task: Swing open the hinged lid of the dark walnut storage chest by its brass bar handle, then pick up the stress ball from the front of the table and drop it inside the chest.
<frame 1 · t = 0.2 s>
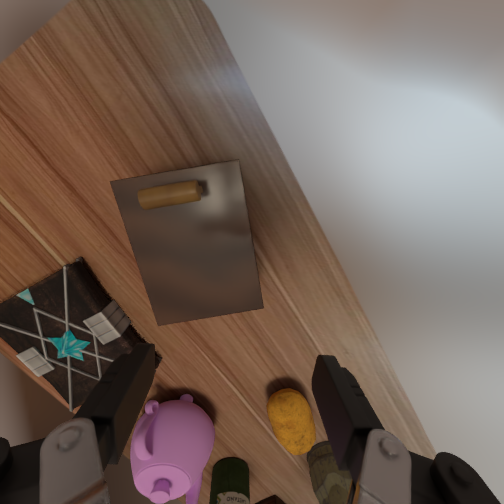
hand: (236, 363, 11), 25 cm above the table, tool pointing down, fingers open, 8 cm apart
lid: (191, 256, 24), point 12 cm above the table, hinge at 0.0°
teapot: (182, 417, 46), on the table
wine bottle: (230, 468, 51), on the table
tall handled vase: (325, 454, 51), on the table
book: (84, 331, 39), on the table
potato: (288, 401, 46), on the table
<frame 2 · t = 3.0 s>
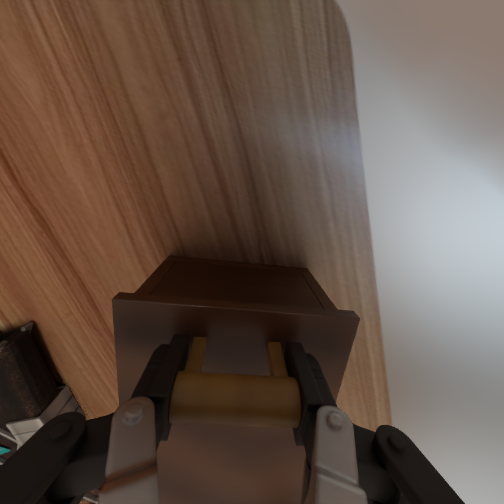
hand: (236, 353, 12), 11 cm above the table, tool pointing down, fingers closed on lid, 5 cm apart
lid: (225, 458, 13), point 12 cm above the table, hinge at 0.0°, touching gripper
chest: (232, 334, 24), on the table
book: (9, 414, 26), on the table
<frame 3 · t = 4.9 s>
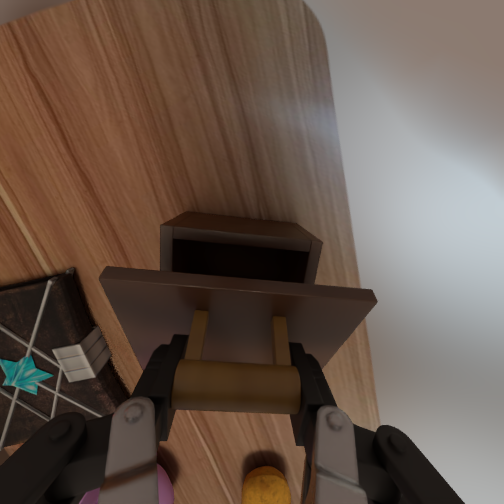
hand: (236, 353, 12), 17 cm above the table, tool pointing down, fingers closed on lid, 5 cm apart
lid: (230, 392, 15), point 15 cm above the table, hinge at 26.4°, touching gripper
teapot: (137, 472, 38), on the table
chest: (236, 280, 29), on the table
book: (48, 353, 31), on the table
potato: (264, 476, 40), on the table
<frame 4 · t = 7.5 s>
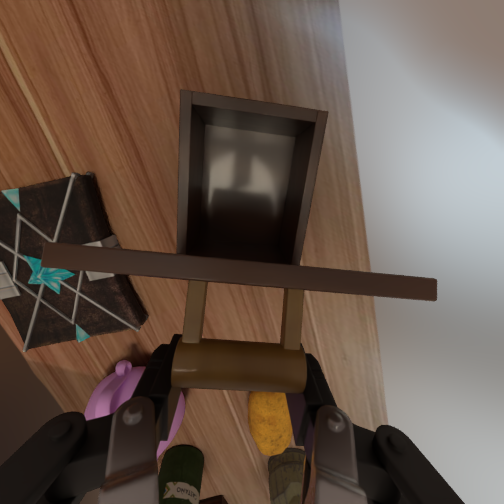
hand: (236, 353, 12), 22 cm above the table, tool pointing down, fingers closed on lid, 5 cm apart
lid: (238, 303, 16), point 18 cm above the table, hinge at 67.4°, touching gripper
teapot: (149, 389, 41), on the table
wine bottle: (184, 457, 46), on the table
tall handled vase: (288, 461, 48), on the table
chest: (244, 190, 31), on the table
book: (68, 262, 33), on the table
potato: (268, 397, 42), on the table
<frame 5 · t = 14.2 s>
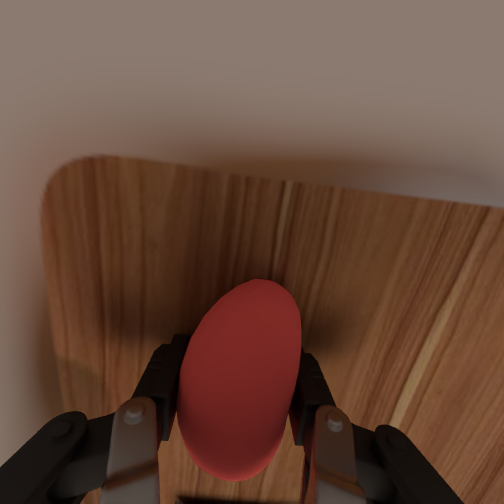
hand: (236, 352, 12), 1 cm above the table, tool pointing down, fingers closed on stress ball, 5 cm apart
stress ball: (241, 344, 13), on the table, touching gripper
when the fingers open (9 cm above the table, at t = 22.5 s): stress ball drops 5 cm, point 4 cm above the table.
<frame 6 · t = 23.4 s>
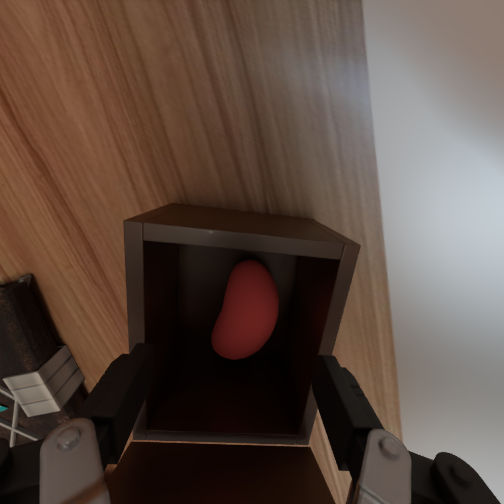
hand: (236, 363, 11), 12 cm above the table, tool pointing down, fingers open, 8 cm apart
chest: (235, 290, 24), on the table
book: (7, 376, 26), on the table
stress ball: (218, 307, 20), point 4 cm above the table
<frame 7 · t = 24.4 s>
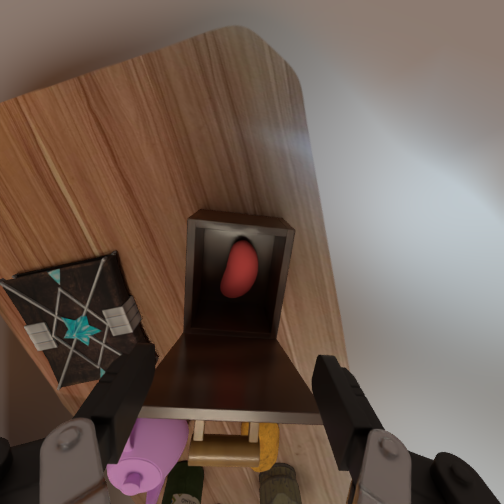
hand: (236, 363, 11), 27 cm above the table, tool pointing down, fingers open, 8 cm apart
lid: (228, 385, 24), point 18 cm above the table, hinge at 68.2°
teapot: (158, 415, 48), on the table
wine bottle: (187, 471, 54), on the table
tall handled vase: (276, 474, 56), on the table
chest: (236, 261, 39), on the table
book: (93, 317, 41), on the table
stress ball: (224, 266, 36), point 3 cm above the table, touching chest
potato: (258, 420, 50), on the table
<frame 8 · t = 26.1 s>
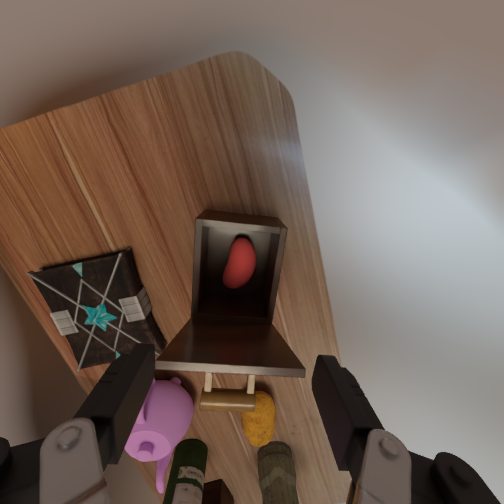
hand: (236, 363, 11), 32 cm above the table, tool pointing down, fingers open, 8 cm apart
lid: (230, 357, 28), point 18 cm above the table, hinge at 68.2°
teapot: (166, 396, 53), on the table
wine bottle: (192, 448, 59), on the table
tall handled vase: (273, 452, 61), on the table
chest: (237, 256, 44), on the table
book: (109, 306, 46), on the table
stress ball: (226, 260, 40), point 3 cm above the table, touching chest
potato: (257, 402, 55), on the table
pepper mill: (213, 499, 65), on the table
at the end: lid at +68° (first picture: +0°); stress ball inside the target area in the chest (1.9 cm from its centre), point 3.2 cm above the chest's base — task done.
